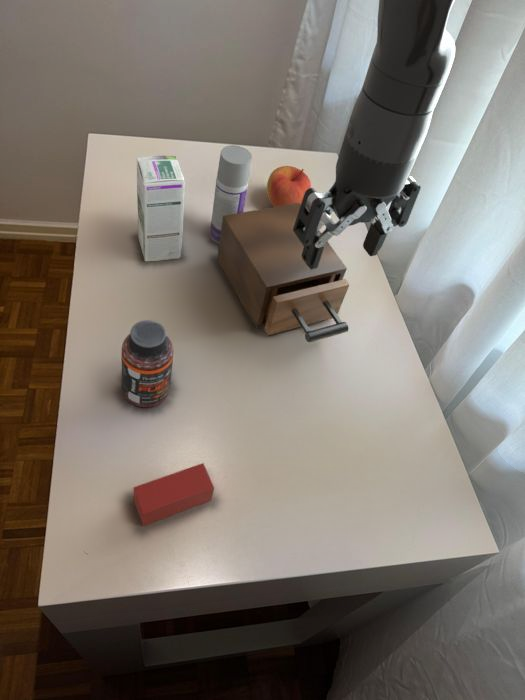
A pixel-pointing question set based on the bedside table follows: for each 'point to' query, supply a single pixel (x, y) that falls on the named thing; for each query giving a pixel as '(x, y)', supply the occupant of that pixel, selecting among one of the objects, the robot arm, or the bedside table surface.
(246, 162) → the container
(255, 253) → the cabinet
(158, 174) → the syrup box
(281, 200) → the apple
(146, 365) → the supplement bottle
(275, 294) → the drawer
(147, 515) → the red rectangular brick
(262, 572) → the bedside table surface
